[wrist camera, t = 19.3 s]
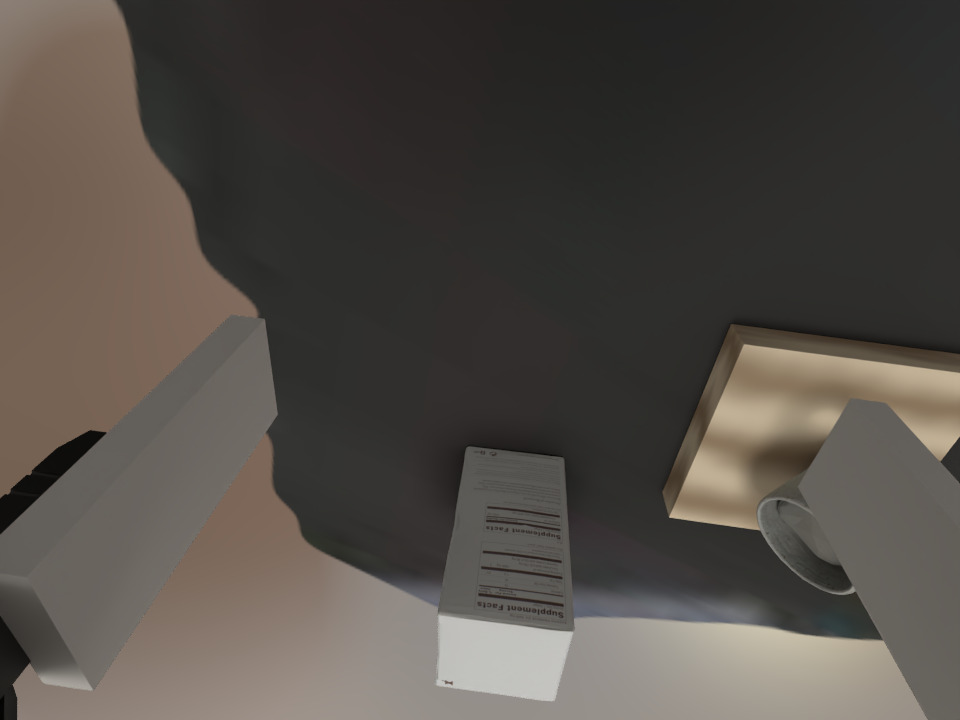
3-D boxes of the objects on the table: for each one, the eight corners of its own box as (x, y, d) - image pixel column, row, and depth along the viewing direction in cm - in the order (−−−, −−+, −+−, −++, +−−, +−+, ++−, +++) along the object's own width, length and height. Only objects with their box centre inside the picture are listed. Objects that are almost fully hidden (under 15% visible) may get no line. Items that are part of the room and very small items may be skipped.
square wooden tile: (731, 323, 40) (744, 344, 37) (974, 356, 39) (1004, 378, 37) (662, 492, 50) (669, 517, 47) (857, 519, 49) (874, 546, 47)
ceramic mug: (814, 470, 45) (898, 550, 41) (741, 519, 43) (822, 609, 38) (881, 403, 36) (997, 495, 32) (795, 460, 34) (906, 566, 30)
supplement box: (551, 525, 53) (556, 706, 39) (460, 514, 54) (432, 690, 40) (566, 454, 48) (577, 633, 34) (465, 443, 49) (435, 615, 34)
